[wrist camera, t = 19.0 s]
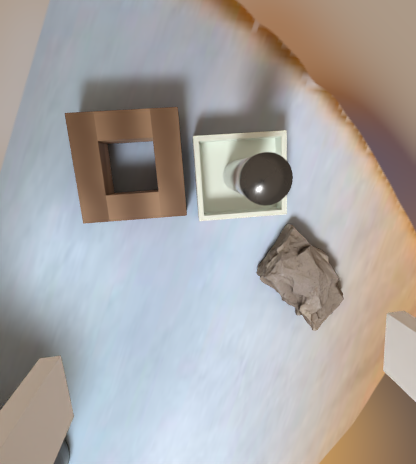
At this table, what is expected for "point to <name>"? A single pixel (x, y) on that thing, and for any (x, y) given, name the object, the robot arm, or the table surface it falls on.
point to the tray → (212, 167)
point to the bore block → (99, 169)
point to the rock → (301, 276)
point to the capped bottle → (260, 177)
